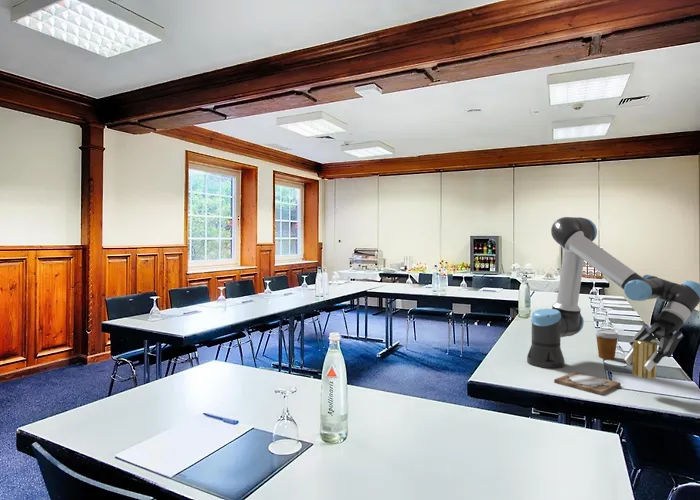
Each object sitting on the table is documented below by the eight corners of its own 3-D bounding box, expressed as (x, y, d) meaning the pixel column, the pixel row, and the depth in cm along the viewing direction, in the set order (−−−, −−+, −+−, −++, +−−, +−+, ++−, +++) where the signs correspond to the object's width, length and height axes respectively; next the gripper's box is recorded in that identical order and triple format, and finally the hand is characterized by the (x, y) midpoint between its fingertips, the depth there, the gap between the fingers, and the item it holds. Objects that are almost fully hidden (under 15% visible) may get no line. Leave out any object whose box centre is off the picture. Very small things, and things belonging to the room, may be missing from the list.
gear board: (554, 382, 169) (554, 378, 169) (574, 374, 178) (574, 370, 178) (601, 395, 155) (601, 390, 155) (620, 385, 165) (620, 381, 165)
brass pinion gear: (628, 374, 157) (630, 341, 156) (636, 371, 161) (637, 338, 161) (651, 380, 151) (652, 345, 151) (659, 376, 156) (660, 342, 155)
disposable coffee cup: (610, 361, 198) (610, 334, 198) (590, 356, 206) (590, 330, 206) (623, 358, 202) (623, 332, 202) (602, 354, 211) (603, 329, 210)
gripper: (707, 330, 151) (670, 381, 146) (651, 318, 170) (617, 364, 165) (696, 315, 149) (658, 366, 145) (641, 305, 168) (606, 351, 164)
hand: (636, 365), depth 155 cm, fingers closed on brass pinion gear, 7 cm apart
